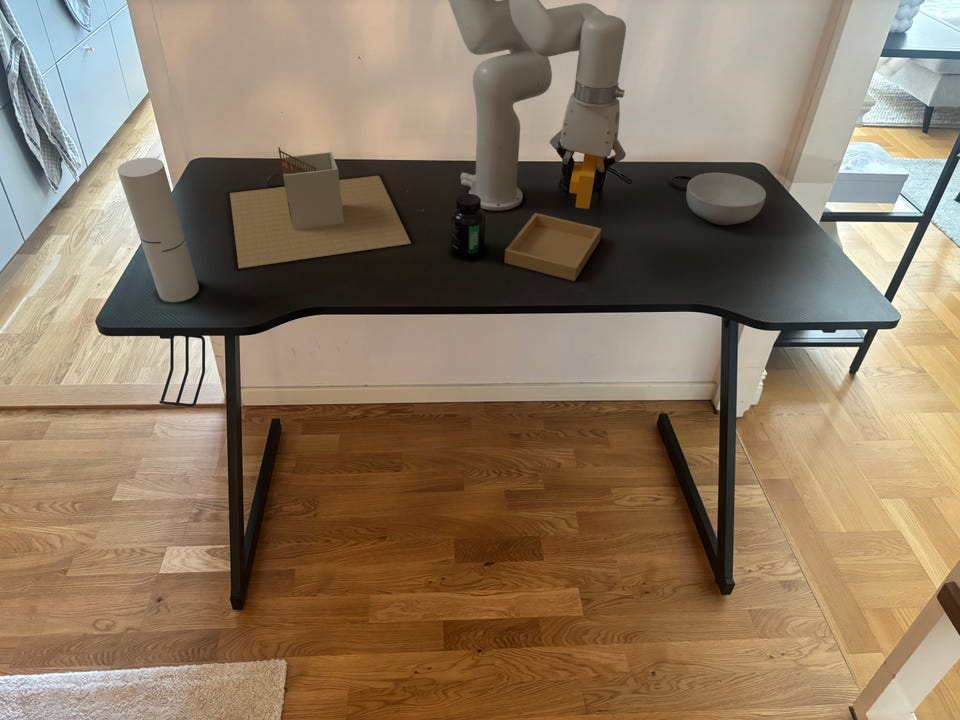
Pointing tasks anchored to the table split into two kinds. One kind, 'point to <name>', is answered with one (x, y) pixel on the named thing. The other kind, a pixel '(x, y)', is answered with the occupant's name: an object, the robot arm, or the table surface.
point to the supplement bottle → (468, 227)
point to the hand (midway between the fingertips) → (582, 183)
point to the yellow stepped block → (583, 181)
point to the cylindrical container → (159, 228)
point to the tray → (553, 246)
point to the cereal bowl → (724, 198)
